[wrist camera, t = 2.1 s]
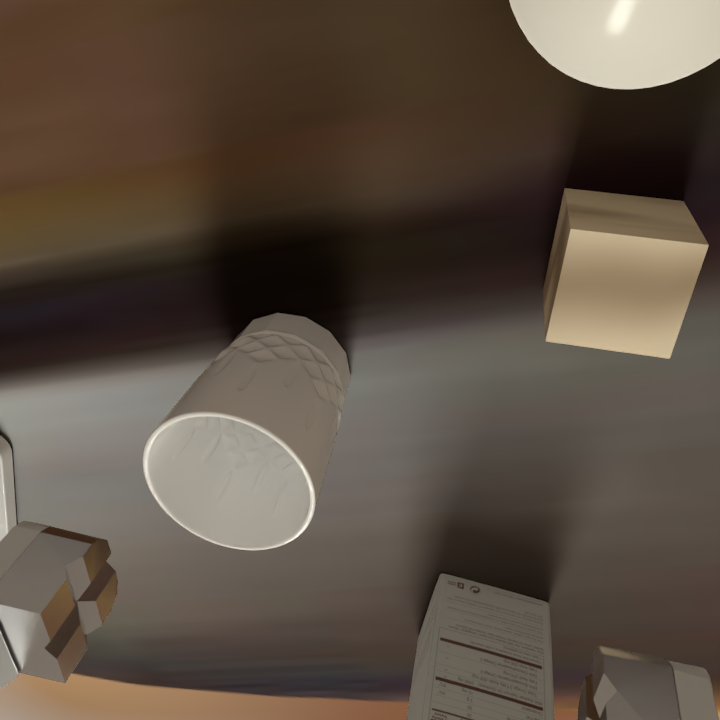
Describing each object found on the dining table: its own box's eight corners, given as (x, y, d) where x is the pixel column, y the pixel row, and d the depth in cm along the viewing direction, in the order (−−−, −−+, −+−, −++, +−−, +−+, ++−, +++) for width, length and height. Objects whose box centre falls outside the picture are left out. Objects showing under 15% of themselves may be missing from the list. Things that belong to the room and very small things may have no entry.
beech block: (651, 303, 32) (669, 358, 28) (542, 289, 33) (545, 341, 29) (683, 200, 30) (708, 244, 26) (564, 187, 30) (570, 228, 26)
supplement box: (519, 666, 48) (517, 873, 37) (415, 636, 49) (385, 832, 38) (554, 600, 44) (562, 811, 33) (440, 568, 44) (413, 766, 34)
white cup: (208, 305, 37) (117, 413, 29) (348, 297, 35) (294, 411, 27) (243, 423, 41) (172, 547, 33) (371, 422, 39) (329, 554, 31)
